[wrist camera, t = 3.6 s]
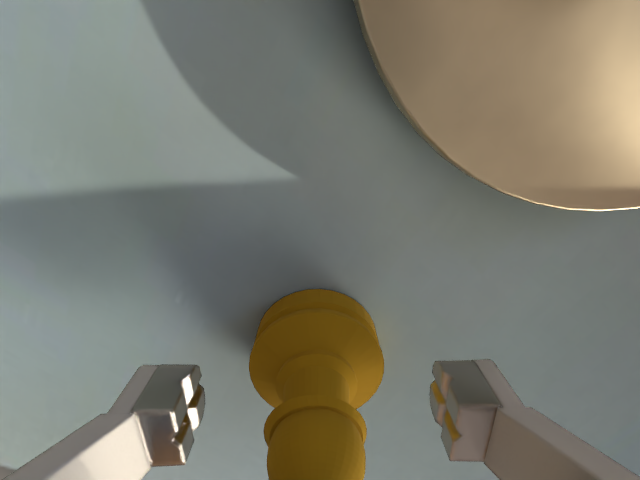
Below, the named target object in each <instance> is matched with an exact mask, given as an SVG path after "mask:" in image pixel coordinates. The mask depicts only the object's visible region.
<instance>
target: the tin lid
mask: <svg viewBox="0 0 640 480" xmlns="http://www.w3.org/2000/svg"><path fill="white" fill-rule="evenodd" d="M353 1H354V4H355V8H356V12H357V16H358V19H359V23H360V27H361V31H362V34H363V37H364V39H365V42H366V44H367V47H368V49H369V52H370V54H371V57H372V59H373V61H374V64H375V66H376V69H377V71H378V73H379V75H380V77H381V79H382V81H383V82H384V84H385V86H386V88H387V89H388V91H389V93H390V95H391V97H392V98H393V100H394V102H395V104H396V105H397V107H398V108H399V109H400V111H401V112H402V113H403V115H404V116H405V117H406V119H407V120H408V121H409V122H410V124H411V125H412V126H413V128H414V129H415V130H416V132H417V133H418V134H419V135H420V136H421V137H422V138H423V139H424V140H425V141H426V142H427V143H428V144H429V145H430V146H431V147H432V148H433V149H434V150H435V151H436V152H437V153H438V154H439V155H440V156H441V157H443V158H444V159H446V160H447V161H448V162H450V163H451V164H453V165H454V166H455V167H457V168H458V169H459V170H461V171H462V172H464V173H465V174H466V175H468V176H470V177H472V178H474V179H476V180H478V181H480V182H482V183H484V184H486V185H488V186H490V187H491V188H493V189H495V190H497V191H500V192H502V193H504V194H507V195H510V196H512V197H515V198H518V199H521V200H524V201H527V202H530V203H533V204H538V205H543V206H549V207H554V208H559V209H565V210H583V211H610V210H623V209H635V208H640V0H353Z"/></svg>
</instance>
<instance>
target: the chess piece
mask: <svg viewBox="0 0 640 480" xmlns="http://www.w3.org/2000/svg"><path fill="white" fill-rule="evenodd" d="M249 371H250V377H251V380H252V382H253V385H254V387H255V389H256V390H257V392H258V393H259V394H260V396H261V397H262V398H263V399H264V400H265V401H266V402H267V403H269V404H270V405H271V406H273V407H274V408H275V409H274V410H273V411H272V412H271V414H270V415H269V416H268V418H267V420H266V423H265V426H264V437H265V441H266V443H267V445H268V447H269V448H268V455H267V470H268V477H269V480H363V478H364V474H365V449H364V443H365V439H366V430H367V428H366V425H365V421H364V419H363V418H362V416H361V414H360V413H359V412H358V411H357V410H356V409H357V408H359V407H360V406H362V405H363V404H364V403H365V402H367V401H368V400H369V399H370V398H371V397H372V396H373V394H374V393H375V392H376V390H377V389H378V387H379V385H380V383H381V380H382V377H383V373H384V359H383V354H382V350H381V348H380V346H379V342H378V338H377V334H376V330H375V326H374V323H373V321H372V319H371V317H370V315H369V314H368V313H367V311H366V310H365V309H364V308H363V307H362V306H361V305H360V304H359V303H358V302H356V301H355V300H354V299H352V298H350V297H348V296H346V295H344V294H341V293H338V292H335V291H331V290H323V289H309V290H303V291H299V292H295V293H292V294H290V295H288V296H285V297H283V298H282V299H280V300H279V301H277V302H276V303H274V304H273V305H272V306H271V307H270V308H269V309H268V310H267V312H266V313H265V315H264V316H263V318H262V319H261V322H260V325H259V328H258V331H257V335H256V339H255V343H254V346H253V349H252V352H251V354H250V362H249Z"/></svg>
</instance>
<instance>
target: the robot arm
mask: <svg viewBox="0 0 640 480" xmlns="http://www.w3.org/2000/svg"><path fill="white" fill-rule="evenodd" d="M432 373H433V376H434V378H435V381H434V382H433V383H432V384H431V385H430V394H429V395H430V406H431V410H432V414H433V417H434V420H435V422H436V423H438V424H439V425H440V426H441V427H442V432H441V439H442V441H443V444H444V447H445V449H446V452H447V454H448V457H449V460H450V461H482V462H484V464H485V465H486V466H487V467H488V468H489V469H490V470H491V471H492V472H493V473H494V474H495V475H496V476H497V477H498V478H499V479H500V480H640V477H639V476H637V475H636V474H634V473H633V472H631V471H630V470H628V469H627V468H625V467H623V466H622V465H620V464H619V463H617V462H616V461H614V460H612V459H611V458H609V457H608V456H606V455H605V454H603V453H602V452H600V451H598V450H597V449H595V448H594V447H592V446H591V445H589V444H588V443H586V442H584V441H583V440H581V439H580V438H578V437H577V436H575V435H574V434H572V433H570V432H569V431H567V430H566V429H564V428H563V427H561V426H560V425H558V424H556V423H555V422H553V421H552V420H550V419H549V418H547V417H546V416H544V415H542V414H541V413H539V412H538V411H536V410H535V409H533V408H532V407H525V406H524V405H523V403H522V402H521V400H520V399H519V397H518V396H517V395H516V393H515V392H514V390H513V389H512V387H511V386H510V384H509V383H508V382H507V380H506V379H505V377H504V376H503V374H502V373H501V371H500V370H499V369H498V367H497V366H496V364H495V363H494V362H493V361H492V360H490V359H483V360H456V361H435V363H434V365H433V370H432ZM201 376H202V375H201V371H200V367H199V366H198V365H168V364H162V365H142V366H141V367H139V368H138V369H137V371H136V372H135V373H134V375H133V376H132V378H131V379H130V381H129V382H128V384H127V385H126V387H125V388H124V390H123V391H122V392H121V394H120V395H119V397H118V398H117V400H116V401H115V403H114V404H113V406H112V407H111V408H110V410H109V411H108V413H107V414H100V415H99V416H97V417H96V418H94V419H93V420H91V421H90V422H88V423H87V424H85V425H84V426H82V427H81V428H79V429H78V430H76V431H75V432H73V433H72V434H70V435H69V436H67V437H65V438H64V439H62V440H61V441H59V442H58V443H56V444H55V445H53V446H52V447H50V448H49V449H47V450H46V451H44V452H43V453H41V454H40V455H38V456H37V457H35V458H34V459H32V460H31V461H29V462H28V463H26V464H25V465H23V466H22V467H20V468H19V469H17V470H16V471H14V472H13V473H11V474H10V475H8V476H7V477H5V478H4V479H2V480H141V479H142V478H143V477H144V476H145V475H146V474H147V472H148V471H149V470H150V469H151V467H154V466H176V465H185V464H186V461H187V459H188V456H189V453H190V450H191V448H192V445H193V442H194V437H193V431H194V430H195V429H196V428H197V427H198V426H199V425H200V423H201V420H202V418H203V414H204V408H205V391H204V388H203V387H202V386H201V385H200V384H199V381H200V378H201Z"/></svg>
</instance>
